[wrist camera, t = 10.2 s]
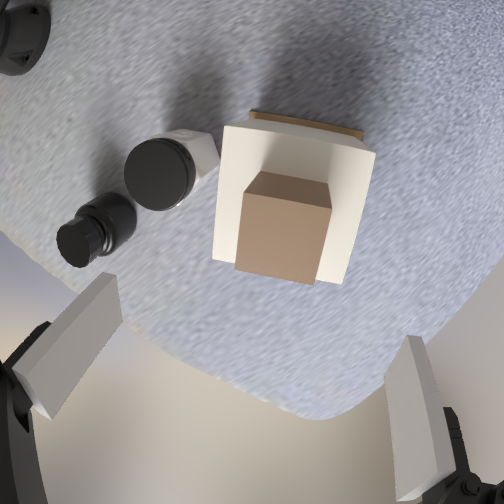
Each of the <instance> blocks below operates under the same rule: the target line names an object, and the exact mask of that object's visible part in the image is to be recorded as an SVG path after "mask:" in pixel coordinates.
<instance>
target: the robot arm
mask: <svg viewBox="0 0 504 504" xmlns="http://www.w3.org/2000/svg"><path fill="white" fill-rule="evenodd" d="M9 1H10V0H0V73H2V74H5V75H8V76H16V75H22V74H25V73H26V72H28V71H29V70H30V69H31V68H32V67H33V66H34V65H35V64H36V63H37V61H38V60H39V58H40V57H41V55H42V53H43V51H44V48H45V46H46V43H47V40H48V36H49V31H50V16H49V13H48V11H47V9H46V8H45V7H44V6H42V5H39V4H25V5H22V6H18V7H14V8H11V9H7V10H5V8H6V6H7V4H8V2H9ZM122 322H123V320H122V314H121V307H120V300H119V293H118V286H117V278H116V275H112V274H109V273H105V272H102V273H101V274H100V275H99V276H98V277H97V278H96V279H95V280H94V281H93V282H92V283H91V284H90V285H89V286H88V287H87V288H86V289H85V290H84V291H83V292H82V293H81V294H80V295H79V296H78V297H77V298H76V299H75V300H74V301H73V302H72V303H71V304H70V305H69V306H68V307H67V308H66V309H65V310H64V311H63V312H62V313H61V314H60V315H59V316H58V317H57V318H56V320H55V321H54V322H53V323H50V322H48V321H46V322H44V323H43V324H41V325H40V326H37V327H36V328H35V329H34V330H33V331H32V333H31V334H30V336H28V337H27V338H26V339H25V340H24V342H23V343H21V345H19V347H18V348H17V349H16V350H15V351H14V352H13V353H12V354H11V355H10V357H9V358H8V359H7V360H6V361H5V362H4V363H3V364H2V362H1V361H0V504H48V502H47V498H46V494H45V490H44V486H43V482H42V477H41V473H40V467H39V462H38V457H37V451H36V444H35V437H34V430H33V421H32V413H31V410H30V408H31V406H32V405H34V407H35V408H36V410H37V411H38V413H40V414H42V415H43V416H45V417H47V418H48V419H50V420H53V418H54V417H55V415H56V414H57V413H58V411H59V410H60V408H61V407H62V405H63V404H64V402H65V401H66V399H67V398H68V396H69V395H70V393H71V392H72V390H73V389H74V388H75V386H76V385H77V383H78V382H79V380H80V379H81V378H82V376H83V375H84V373H85V372H86V370H87V369H88V368H89V366H90V365H91V364H92V362H93V361H94V359H95V358H96V357H97V355H98V354H99V353H100V351H101V350H102V348H103V347H104V346H105V344H106V343H107V342H108V340H109V339H110V338H111V336H112V335H113V333H114V332H115V331H116V329H117V328H118V327H119V326H120V324H121V323H122ZM384 381H385V388H386V395H387V402H388V409H389V417H390V425H391V434H392V445H393V455H394V468H395V484H396V501H406V500H414V499H416V498H417V497H419V496H420V495H422V499H423V501H421V502H420V503H418V504H504V480H503V481H502V482H500V483H499V484H497V485H493V484H487V483H482V482H481V480H480V478H479V477H478V476H477V475H476V474H474V473H472V472H470V469H469V465H468V459H467V455H466V451H465V446H464V441H463V439H462V433H461V430H460V425H459V421H458V417H457V416H456V414H455V413H454V411H453V410H452V408H451V407H442V403H441V399H440V395H439V391H438V388H437V384H436V381H435V377H434V374H433V371H432V368H431V364H430V361H429V358H428V355H427V352H426V349H425V346H424V343H423V340H422V337H419V336H411V335H407V336H406V338H405V340H404V342H403V343H402V345H401V347H400V349H399V351H398V353H397V354H396V356H395V358H394V360H393V361H392V363H391V365H390V367H389V368H388V370H387V372H386V373H385V375H384Z"/></svg>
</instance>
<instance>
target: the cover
mask: <svg viewBox="0 0 504 504" xmlns="http://www.w3.org/2000/svg"><path fill="white" fill-rule="evenodd" d="M375 156H376V153H375V152H374V151H373V150H372V149H370V148H369V147H368V146H366V145H365V144H364V143H362V142H361V141H360V140H358V139H357V138H356V137H354V136H350V135H345V134H341V133H336V132H331V131H327V130H322V129H316V128H311V127H306V126H300V125H295V124H289V123H282V122H276V121H269V120H262V119H255V118H254V119H250V120H245V121H241V122H237V123H233V124H229V125H225V126H224V134H223V143H222V153H221V163H220V173H219V183H218V194H217V206H216V218H215V230H214V243H213V256H212V259H216V260H221V261H226V262H231V263H235V269H234V270H239V271H244V272H249V273H254V274H259V275H264V276H269V277H274V278H279V279H284V280H289V281H294V282H299V283H304V284H309V285H314V282H315V279H316V280H322V281H327V282H332V283H337V284H342V282H343V278H344V275H345V272H346V269H347V265H348V262H349V259H350V255H351V252H352V248H353V245H354V241H355V238H356V234H357V230H358V227H359V223H360V219H361V215H362V212H363V208H364V204H365V200H366V196H367V192H368V187H369V183H370V179H371V174H372V170H373V166H374V161H375Z"/></svg>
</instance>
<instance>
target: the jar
mask: <svg viewBox="0 0 504 504" xmlns="http://www.w3.org/2000/svg"><path fill="white" fill-rule="evenodd" d="M220 163H221V160H220V157H219V154H218V151H217V148H216V146H215V143H214V140H213V137H212V135H211V134H210V133H205V132H199V131H193V130H187V129H178V130H174V131H170V132H166V133H162V134H158V135H154V136H151V137H150V139H149V140H147V141H144V142H143V143H141V144H139V145H137V146H136V147H135V148H134V149H133V150H132V151H131V152H130V154H129V156H128V157H127V160H126V163H125V167H124V178H125V183H126V186H127V189H128V191H129V193H130V194H131V196H132V197H133V199H134V200H135V201H136V202H137V203H139V204H140V205H141V206H143V207H145V208H147V209H150V210H154V211H164V210H168V209H171V208H173V207H174V206H179V205H180V204H181V203H183V202H184V201H185V200H186V199H188V198H189V197H190V196H191V195H192V194H194V193H195V192H196V191H197V190H199V189H200V188H201V187H202V186H204V184H205V183H206V182H207V181H208V180H209V178H210V177H211V176H212V175H213V174H214V172H215V171H216V170H217V169H218V168H219V167H220Z"/></svg>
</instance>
